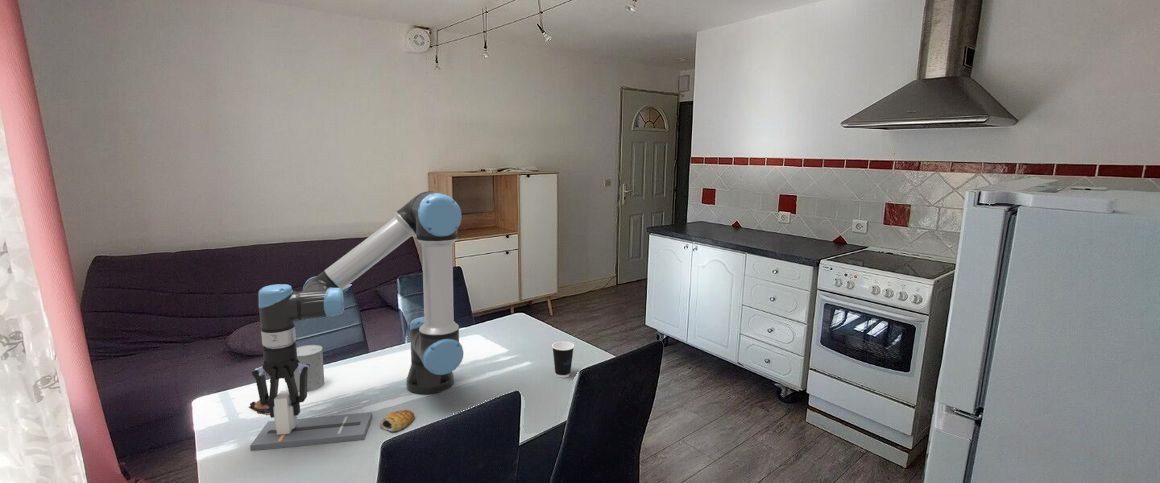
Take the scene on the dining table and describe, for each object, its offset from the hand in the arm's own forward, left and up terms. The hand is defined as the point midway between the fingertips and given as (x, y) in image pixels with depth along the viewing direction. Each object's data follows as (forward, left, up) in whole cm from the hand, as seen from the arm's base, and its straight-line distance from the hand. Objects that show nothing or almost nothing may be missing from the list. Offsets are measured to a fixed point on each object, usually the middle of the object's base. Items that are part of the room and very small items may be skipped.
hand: (286, 426), depth 132 cm
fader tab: (0, 0, -1) cm, 1 cm away
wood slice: (+11, -18, -3) cm, 22 cm away
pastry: (-28, 0, -3) cm, 28 cm away
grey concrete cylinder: (+4, -31, -3) cm, 31 cm away
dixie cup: (-80, -24, -3) cm, 84 cm away
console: (-7, 0, -3) cm, 7 cm away
